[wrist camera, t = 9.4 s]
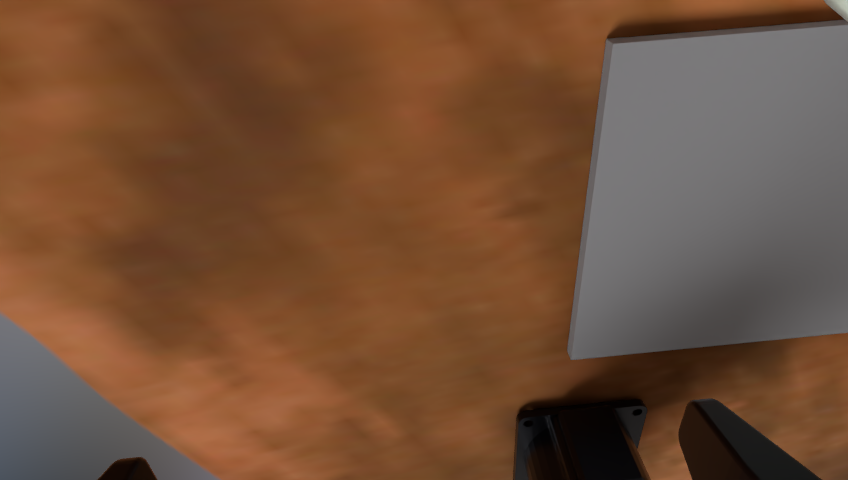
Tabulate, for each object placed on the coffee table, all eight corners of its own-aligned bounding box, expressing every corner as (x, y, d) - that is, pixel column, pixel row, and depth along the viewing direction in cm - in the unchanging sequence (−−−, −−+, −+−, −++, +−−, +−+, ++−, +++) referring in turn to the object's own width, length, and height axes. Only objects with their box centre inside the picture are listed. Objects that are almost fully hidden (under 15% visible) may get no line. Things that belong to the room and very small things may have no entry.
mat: (860, 321, 26) (870, 330, 26) (567, 350, 26) (570, 360, 25) (1027, 4, 18) (1046, 8, 18) (606, 38, 18) (612, 43, 17)
